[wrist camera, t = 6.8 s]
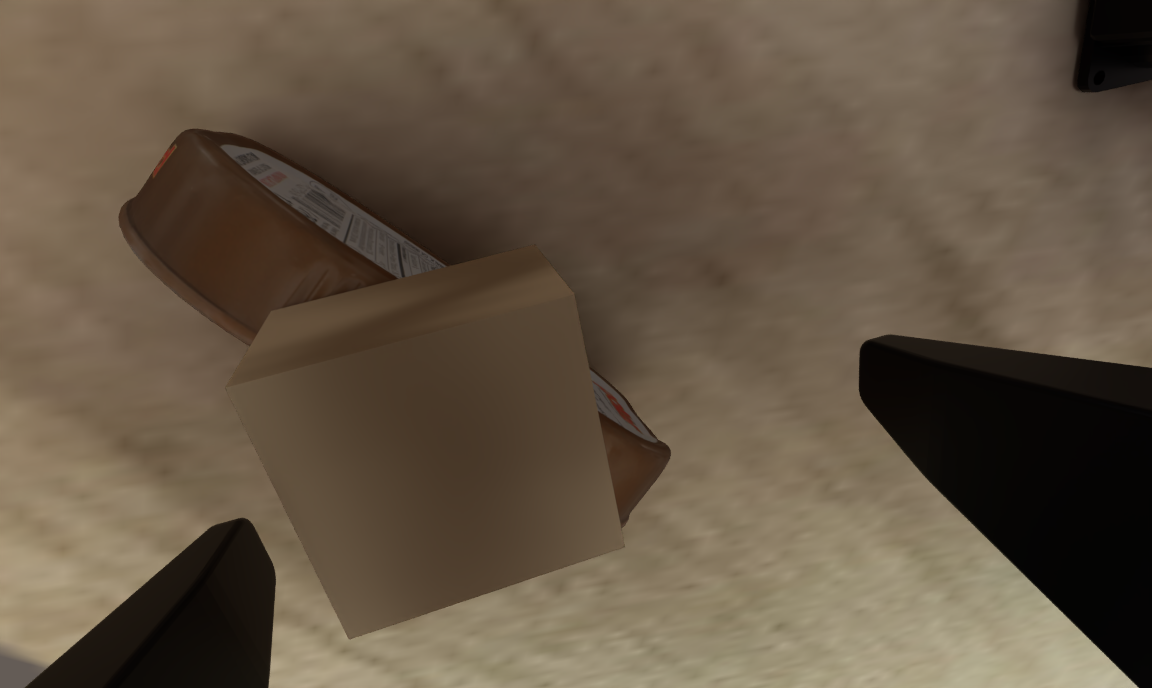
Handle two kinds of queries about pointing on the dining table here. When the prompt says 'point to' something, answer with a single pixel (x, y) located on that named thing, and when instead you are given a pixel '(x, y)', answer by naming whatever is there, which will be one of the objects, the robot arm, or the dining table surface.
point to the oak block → (432, 435)
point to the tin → (305, 260)
